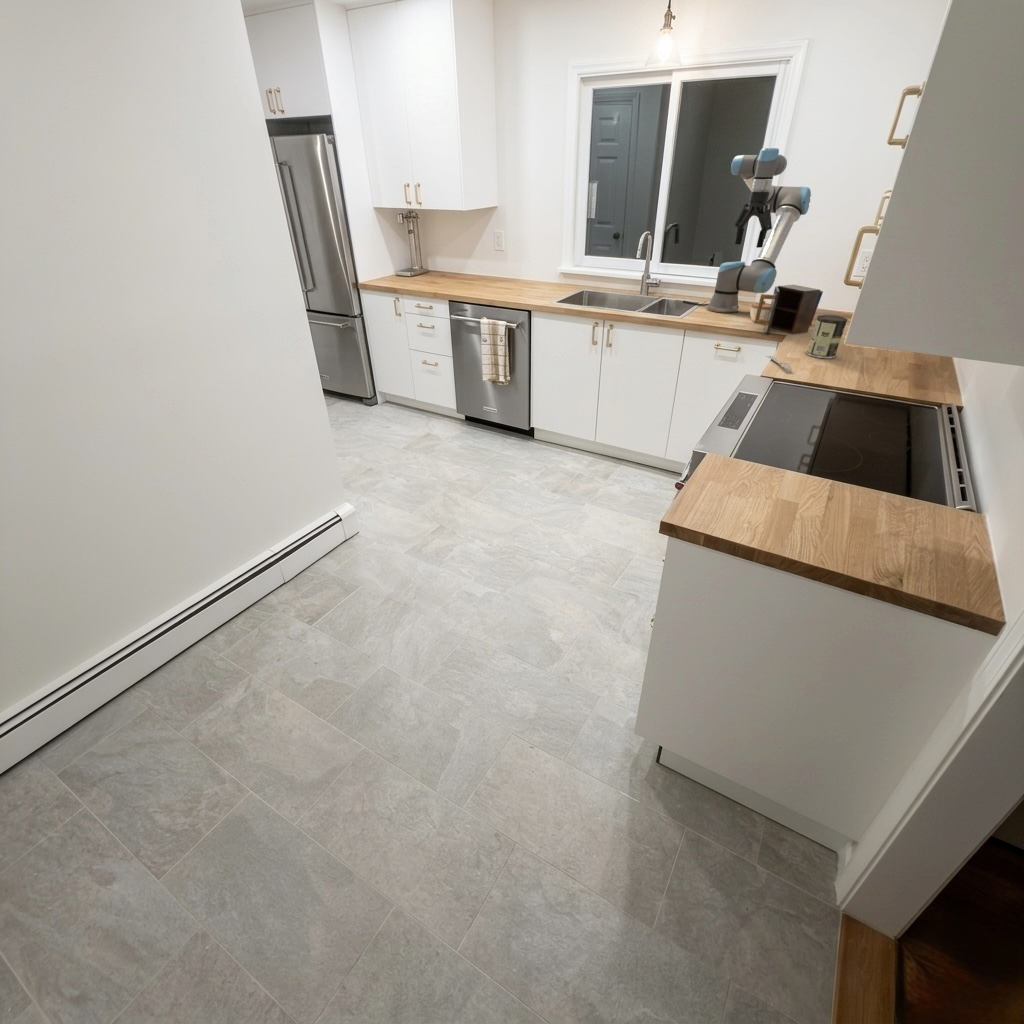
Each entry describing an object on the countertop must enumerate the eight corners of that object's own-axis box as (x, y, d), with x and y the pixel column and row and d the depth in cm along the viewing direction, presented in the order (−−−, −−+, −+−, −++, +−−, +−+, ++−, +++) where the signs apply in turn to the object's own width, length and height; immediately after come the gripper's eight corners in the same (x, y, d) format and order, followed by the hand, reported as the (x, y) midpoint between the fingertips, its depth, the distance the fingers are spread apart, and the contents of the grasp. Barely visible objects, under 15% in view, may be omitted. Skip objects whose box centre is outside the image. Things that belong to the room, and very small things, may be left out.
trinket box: (773, 324, 253) (778, 303, 248) (749, 323, 255) (754, 302, 250) (768, 319, 262) (774, 299, 257) (745, 318, 264) (750, 298, 259)
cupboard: (792, 334, 238) (804, 291, 228) (767, 327, 249) (777, 285, 239) (807, 332, 242) (820, 289, 232) (782, 325, 252) (793, 284, 243)
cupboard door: (752, 332, 239) (762, 290, 229) (751, 325, 250) (761, 285, 241) (768, 334, 237) (779, 291, 228) (767, 327, 248) (777, 286, 239)
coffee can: (830, 352, 213) (842, 315, 206) (838, 359, 205) (851, 321, 197) (803, 350, 215) (814, 314, 208) (809, 357, 206) (821, 319, 199)
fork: (770, 362, 208) (771, 355, 207) (793, 373, 189) (795, 365, 188) (762, 362, 208) (764, 355, 207) (785, 373, 189) (787, 365, 188)
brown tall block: (808, 326, 251) (819, 292, 243) (794, 324, 255) (804, 290, 247) (815, 324, 254) (825, 291, 246) (801, 322, 259) (811, 289, 251)
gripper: (789, 192, 222) (775, 248, 234) (746, 190, 242) (735, 242, 253) (775, 191, 220) (762, 249, 231) (733, 190, 240) (723, 243, 251)
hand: (748, 245), depth 242 cm, fingers open, 13 cm apart
